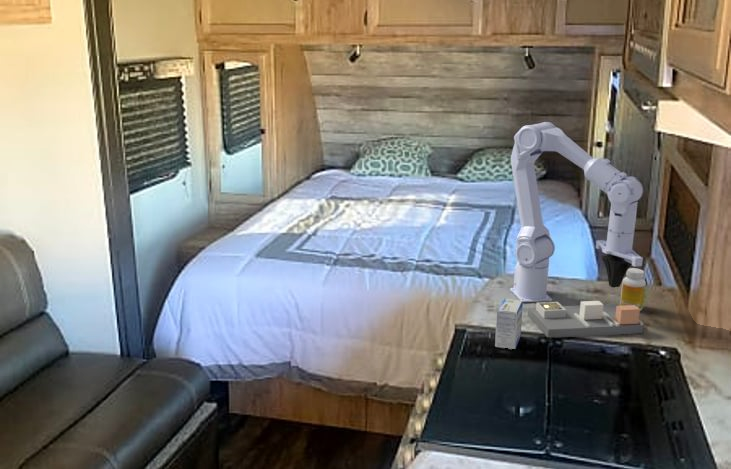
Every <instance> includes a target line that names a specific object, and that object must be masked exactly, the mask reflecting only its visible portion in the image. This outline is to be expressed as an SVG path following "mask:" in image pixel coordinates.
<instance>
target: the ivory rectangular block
mask: <svg viewBox="0 0 731 469" xmlns="http://www.w3.org/2000/svg"><path fill="white" fill-rule="evenodd" d="M603 305H604V304H603V303H602V302H601V301H600V300H590V301H589V300H587V301H586V300H584V301H583V300H582V301H580V305H579V306H580V314H579V316H580V317H581V318H583V319H584V320H589V319H602V315H603Z"/></svg>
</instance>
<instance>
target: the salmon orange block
mask: <svg viewBox="0 0 731 469" xmlns="http://www.w3.org/2000/svg"><path fill="white" fill-rule="evenodd" d="M640 312H641V310H640V309H639V308H638V307H636V306H635V305H626V306H620V305H619V306H616V315H615V321H616V322H618V323H619V324H638V322H639V320H640Z"/></svg>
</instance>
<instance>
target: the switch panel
mask: <svg viewBox="0 0 731 469" xmlns="http://www.w3.org/2000/svg"><path fill="white" fill-rule="evenodd" d="M547 302H548V301H542V302H535V303H536V304H535V305H536V306H535V307H528V308H527V317H528V318H529V319H530V320H531V321H532V322H533V323H534V325H536V327H537V328H538V329H539V330H540V331H541V332H542V333H543V334H544V335H545V336H546V337H547V338H548V337H549V338H548V339H552V338H553V337H554V338H568V337H569V338H570V337H571V338H572V337H588V336H592V337H593V336H611V335H633V334H643V331H644V330H643V329H644V322H643V321H641V320H640V319H639V322H638V324H619V323H618V322H616V321H615V315H616V306H620V304H619V305H618V303H609V304H608V303H606V304H603V315H602V319H589V320H584V319H583V318H581V317H580V316H579V314H580V305H562V304H561V303H560V302H559V301H550V302H551V303H556V304H558V305H559V310H545V309H544V308H543V304H544V303H547ZM554 338H553V339H554Z"/></svg>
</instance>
